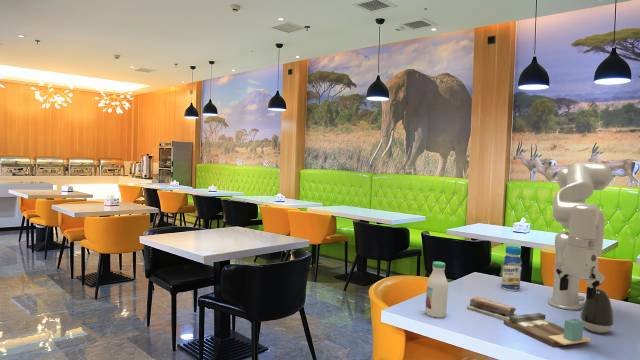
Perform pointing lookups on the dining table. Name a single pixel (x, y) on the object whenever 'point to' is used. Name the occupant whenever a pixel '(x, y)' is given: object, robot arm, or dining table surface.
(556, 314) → the dining table surface
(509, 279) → the beverage bottle
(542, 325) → the ticket board
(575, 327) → the teal block on plate
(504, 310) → the packaged product
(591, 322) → the brown egg-shaped diffuser
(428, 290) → the milk bottle
